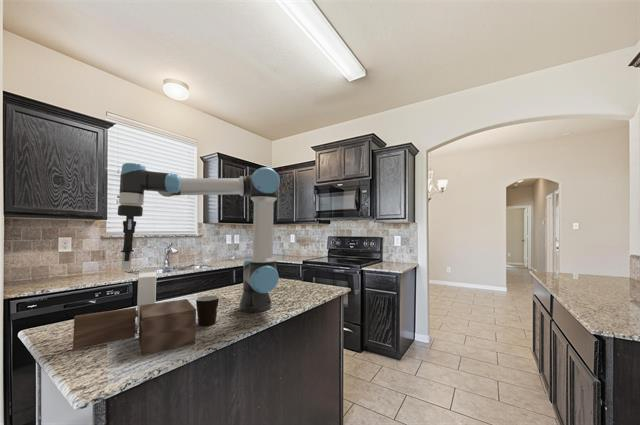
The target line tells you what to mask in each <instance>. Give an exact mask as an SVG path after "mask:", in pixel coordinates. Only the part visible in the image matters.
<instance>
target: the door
mask: <svg viewBox="0 0 640 425" xmlns="http://www.w3.org/2000/svg"><path fill="white" fill-rule="evenodd" d="M137 317H138V310H137V306H136V307H134V306H133V307H129V308H122V309H114V310H108V311H100V312H93V313H85V314H80V315H74V317H73V318H74V320H73V335H72V336H73V337H72V338H73V339H72V351H74V350H78V349H83V348H89V347H93V346H99V345H105V344H109V343H116V342H120V341H124V340H128V339H135V338H136V335H138V332H139V326H136V324H137Z"/></svg>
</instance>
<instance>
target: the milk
mask: <svg viewBox="0 0 640 425" xmlns="http://www.w3.org/2000/svg"><path fill="white" fill-rule="evenodd" d="M137 280H138V281H137V305H136V310H138V317H136V327H139V315H140V305H147V304H154V303H156V298H157V295H156V294H157V267H145V268H142V267H141V268H139V269H138V279H137Z"/></svg>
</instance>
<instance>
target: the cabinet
mask: <svg viewBox="0 0 640 425" xmlns="http://www.w3.org/2000/svg"><path fill="white" fill-rule="evenodd" d="M196 322H197V308H196V307H195V306H194V305H193V304H192V303H191V301H189V299H187V298H185V299H178V300H170V301H162V302H155V303H154V304H147V305H140V315H139V326H138V343H139V351H140V356H145V355H149V354H150V355H151V354H154V353H159V352H164V351H168V350H173V349H177V348H180V347H185V346H189V345H194V344H196V326H197V323H196Z"/></svg>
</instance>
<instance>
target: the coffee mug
mask: <svg viewBox="0 0 640 425" xmlns="http://www.w3.org/2000/svg"><path fill="white" fill-rule="evenodd" d="M219 300H220V296H219V295H204V296H200V297H196V298H195V304H196V316H197V323H198V326H200V327H209V326H212V325H215V324H216V322H217V315H218V308H219V302H220V301H219Z"/></svg>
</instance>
